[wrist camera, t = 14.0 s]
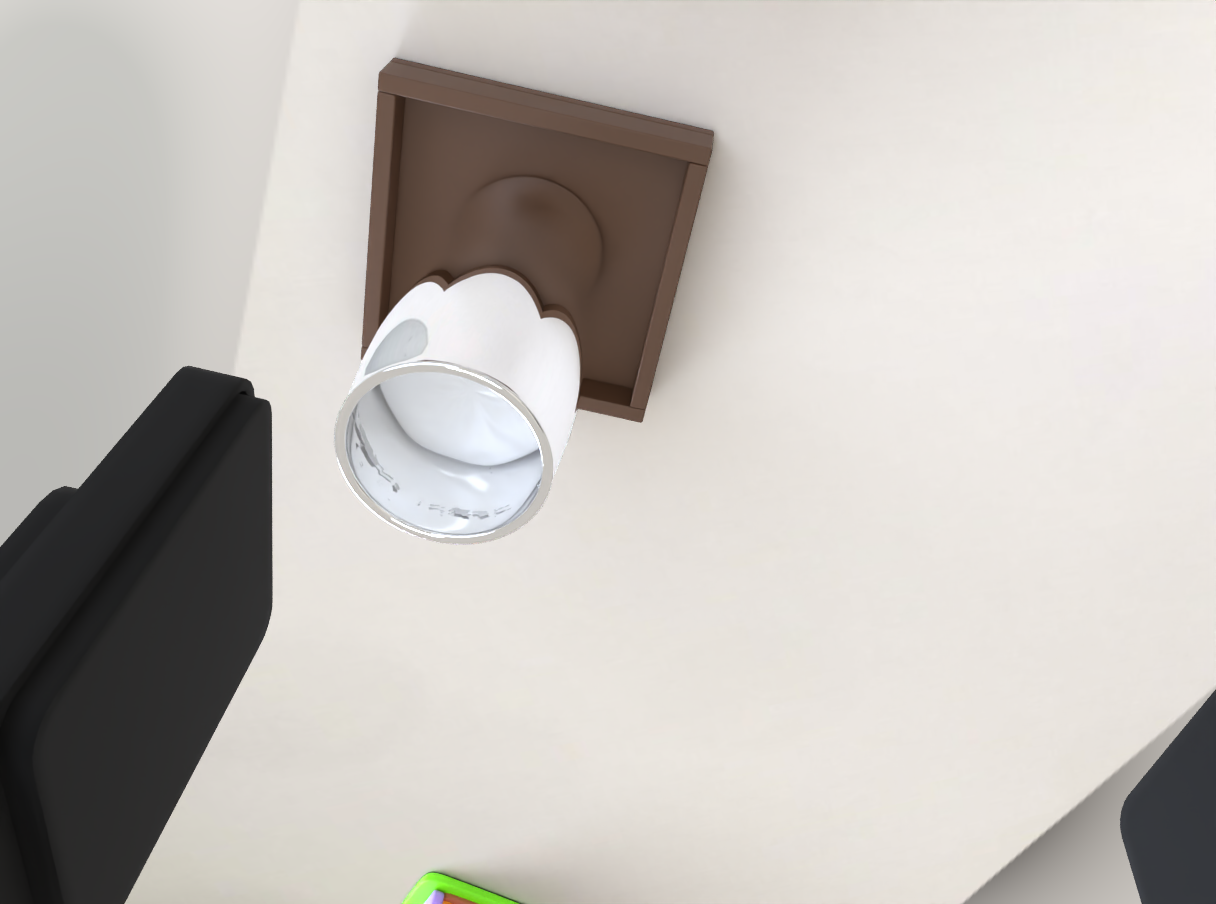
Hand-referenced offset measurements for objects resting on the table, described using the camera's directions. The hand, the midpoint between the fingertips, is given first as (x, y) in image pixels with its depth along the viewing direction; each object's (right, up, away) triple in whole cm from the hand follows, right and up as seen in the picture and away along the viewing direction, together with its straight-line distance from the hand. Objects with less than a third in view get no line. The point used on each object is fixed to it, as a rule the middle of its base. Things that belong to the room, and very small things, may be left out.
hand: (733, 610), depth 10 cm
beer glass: (-4, +10, +33) cm, 35 cm away
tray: (-4, +10, +34) cm, 35 cm away
